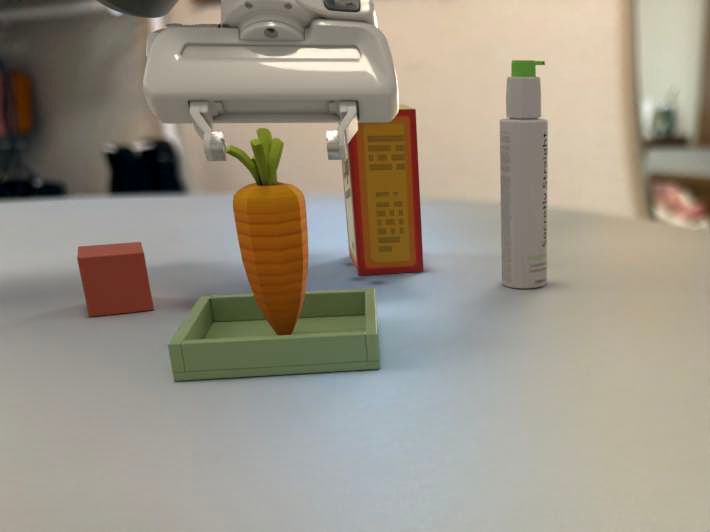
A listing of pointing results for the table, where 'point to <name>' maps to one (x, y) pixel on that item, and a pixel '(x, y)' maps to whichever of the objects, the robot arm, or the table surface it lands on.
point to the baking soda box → (384, 196)
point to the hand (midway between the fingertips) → (276, 156)
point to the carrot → (272, 234)
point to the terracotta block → (114, 278)
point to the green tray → (276, 337)
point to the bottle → (524, 180)
